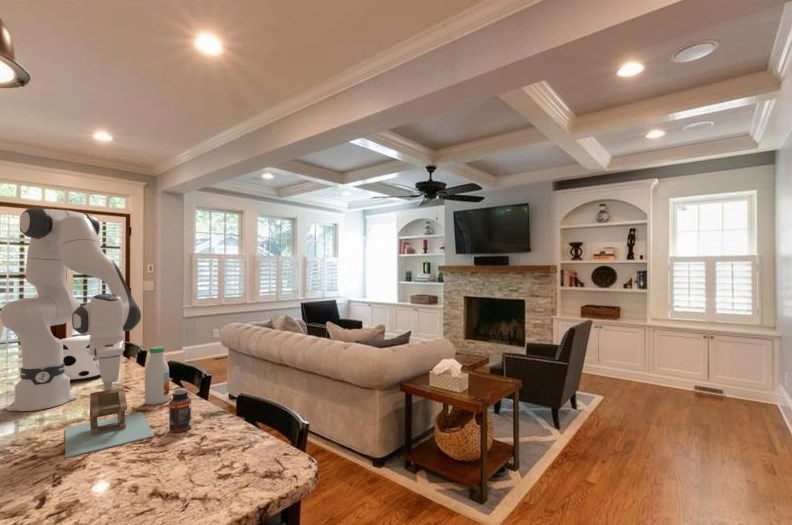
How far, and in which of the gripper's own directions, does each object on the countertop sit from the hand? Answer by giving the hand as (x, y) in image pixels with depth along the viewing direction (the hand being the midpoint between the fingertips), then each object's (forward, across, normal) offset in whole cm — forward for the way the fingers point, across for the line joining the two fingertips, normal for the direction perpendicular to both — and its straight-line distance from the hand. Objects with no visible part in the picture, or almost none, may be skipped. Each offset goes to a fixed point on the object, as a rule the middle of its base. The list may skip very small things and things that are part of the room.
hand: (107, 391), depth 123 cm
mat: (+11, +6, 0) cm, 13 cm away
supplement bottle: (+11, +17, +17) cm, 26 cm away
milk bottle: (+11, -16, +16) cm, 25 cm away
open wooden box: (+9, +2, 0) cm, 9 cm away
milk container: (+11, -74, -4) cm, 75 cm away
